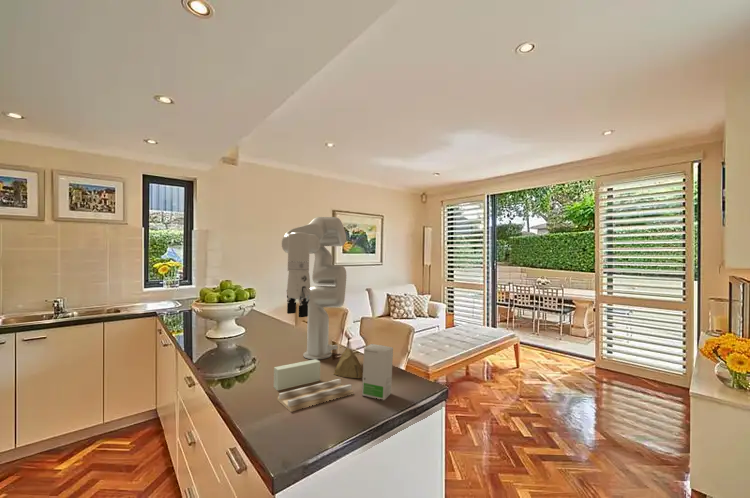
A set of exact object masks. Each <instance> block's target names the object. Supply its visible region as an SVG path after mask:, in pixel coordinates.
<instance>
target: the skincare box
mask: <svg viewBox="0 0 750 498" xmlns="http://www.w3.org/2000/svg"><path fill="white" fill-rule="evenodd" d="M393 357H394V347H392V346H386V345H381V344H374V343H370V344H369V345H367V346H365V347H364V348H363V363H362V366H363V367H362V374H363V377H362V387H361V389H362V391H361V395H362V396H363V397H367V398H372V399H376V398H377V399H376V400H380V399H383V400H382V401H386V399H387V398H388V397H389V396H390V395H391V394H392V380H393V378H392V377H393V361H394V358H393Z"/></svg>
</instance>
